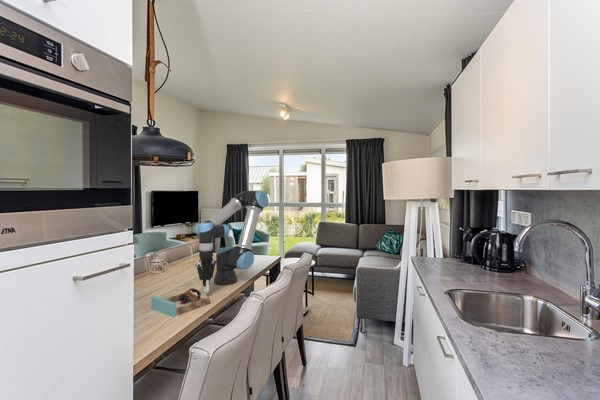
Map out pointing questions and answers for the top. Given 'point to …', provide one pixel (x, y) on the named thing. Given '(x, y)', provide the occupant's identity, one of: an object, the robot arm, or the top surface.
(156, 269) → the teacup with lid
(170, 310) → the end stop
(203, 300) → the channel
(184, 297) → the pottery mug
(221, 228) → the robot arm
